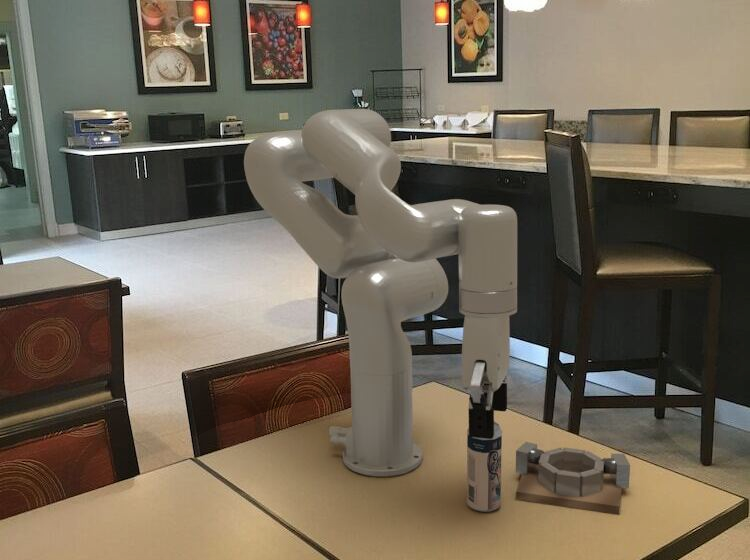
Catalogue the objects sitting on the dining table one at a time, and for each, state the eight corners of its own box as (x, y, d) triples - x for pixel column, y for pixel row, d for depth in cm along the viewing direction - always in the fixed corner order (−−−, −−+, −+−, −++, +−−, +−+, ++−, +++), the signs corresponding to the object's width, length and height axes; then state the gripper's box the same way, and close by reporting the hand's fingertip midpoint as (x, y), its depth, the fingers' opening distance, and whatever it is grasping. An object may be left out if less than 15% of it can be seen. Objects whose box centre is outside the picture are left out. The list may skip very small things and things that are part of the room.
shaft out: (605, 487, 112) (607, 464, 112) (600, 475, 116) (601, 453, 115) (628, 487, 112) (630, 464, 111) (622, 475, 116) (624, 453, 115)
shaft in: (545, 468, 118) (546, 446, 118) (535, 477, 116) (536, 455, 115) (525, 462, 120) (525, 441, 119) (515, 472, 117) (516, 450, 116)
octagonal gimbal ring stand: (515, 499, 112) (516, 472, 111) (527, 465, 122) (528, 440, 121) (619, 514, 107) (620, 486, 106) (622, 477, 118) (623, 451, 117)
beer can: (500, 515, 108) (501, 433, 105) (464, 512, 109) (465, 431, 106) (501, 498, 112) (503, 419, 110) (467, 495, 113) (468, 417, 110)
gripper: (473, 284, 113) (474, 398, 116) (443, 315, 97) (446, 445, 100) (526, 286, 110) (526, 402, 114) (505, 318, 94) (505, 452, 98)
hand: (488, 422), depth 107 cm, fingers open, 9 cm apart
